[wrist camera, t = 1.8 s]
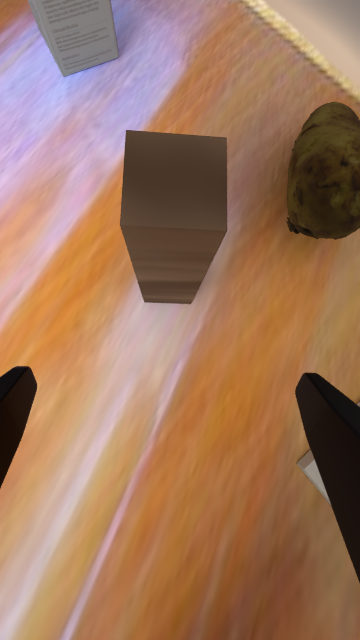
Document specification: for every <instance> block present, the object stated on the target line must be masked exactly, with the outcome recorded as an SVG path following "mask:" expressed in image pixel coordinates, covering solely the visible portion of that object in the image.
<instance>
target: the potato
mask: <svg viewBox="0 0 360 640" xmlns="http://www.w3.org/2000/svg"><path fill="white" fill-rule="evenodd" d="M287 206H288V214H289V218H287V219H288V221H287V224H288V227H289V230H290V231H291V232H292V231H293V232H294V233H296V234H298V233H299V232H300V233H302V234H304V235H306V236H311V237H314V238H316V239H318V238H326V239H327V238H332V239H339V238H343V237H346V236H348V235H350V234H351V233H353V232H355V231H356V230H357V229H359V228H360V121H359V119H358V117H357V115H356V114H355V113H354V111H353V110H352V109H350V108H349V107H348V106H346V105H344V104H342V103H338V102H330V103H327V104H324V105H322V106H320V107H319V108H317V109H316V110H315V111H314V112H313V113H311V115H310V117H309V118H308V120H307V121H306V122H305V124H304V125H303V128H302V131H301V133H300V134H299V136H298V138H297V140H296V141H295V145H294V148H293V150H292V156H291V160H290V164H289V171H288V188H287Z"/></svg>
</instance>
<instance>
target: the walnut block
mask: <svg viewBox="0 0 360 640" xmlns="http://www.w3.org/2000/svg"><path fill="white" fill-rule="evenodd" d="M120 226H121V230H122V233H123V236H124V239H125V242H126V245H127V249H128V252H129V255H130V258H131V261H132V265H133V268H134V271H135V274H136V277H137V280H138V284H139V287H140V290H141V293H142V296H143V299H144V302H151V303H178V304H191V303H192V301H193V299H194V297H195V295H196V293H197V291H198V289H199V287H200V285H201V283H202V281H203V279H204V277H205V275H206V272H207V270H208V268H209V266H210V264H211V262H212V260H213V258H214V256H215V254H216V252H217V250H218V248H219V246H220V244H221V242H222V240H223V238H224V236H225V234H226V232H227V138H224V137H211V136H198V135H185V134H172V133H159V132H145V131H132V130H126V139H125V155H124V171H123V187H122V202H121V218H120Z"/></svg>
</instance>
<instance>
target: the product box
mask: <svg viewBox="0 0 360 640" xmlns="http://www.w3.org/2000/svg"><path fill="white" fill-rule="evenodd" d="M28 2H29V5H30V7H31V10H32V12H33V15H34V18H35V20H36V23H37V26H38V28H39V30H40V32H41V34H42V36H43V38H44V40H45V42H46V44H47V46H48V48H49V50H50V52H51V54H52V56H53V58H54V60H55V62H56V63H57V65H58V67H59V69H60V71H61V73H62V75H63V77H65V76H68V75H71V74H73V73H76V72H79V71H82V70H84V69H87V68H90V67H93V66H96V65H99V64H101V63H104V62H107V61H110V60H113V59H116V58H118V57H119V53H118V46H117V39H116V33H115V27H114V20H113V13H112V7H111V1H110V0H28Z"/></svg>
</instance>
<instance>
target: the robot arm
mask: <svg viewBox="0 0 360 640" xmlns="http://www.w3.org/2000/svg"><path fill="white" fill-rule="evenodd" d="M36 391H37V382H36V380H35V377H34V375H33V372H32V370H31V368H30V367H28V366H16V367H14V368H12V369H11V370H9V371H8V372H7V373H5V374H4V375H2V376H1V377H0V488H1V486H2V483H3V481H4V479H5V476H6V474H7V472H8V469H9V467H10V464H11V462H12V460H13V457H14V455H15V453H16V450H17V448H18V446H19V443H20V441H21V438H22V436H23V433H24V430H25V427H26V424H27V420H28V417H29V414H30V410H31V407H32V404H33V401H34V397H35V394H36ZM295 394H296V399H297V402H298V406H299V410H300V414H301V418H302V422H303V426H304V430H305V434H306V437H307V440H308V443H309V446H310V449H311V452H312V454H313V457H314V460H315V462H316V465H317V468H318V471H319V473H320V476H321V479H322V481H323V484H324V487H325V490H326V492H327V495H328V498H329V501H330V503H331V506H332V509H333V511H334V514H335V517H336V520H337V522H338V525H339V528H340V531H341V533H342V536H343V539H344V541H345V544H346V547H347V550H348V552H349V555H350V558H351V561H352V563H353V566H354V569H355V571H356V574H357V577H358V580H359V582H360V407H359V406H358V405H357V404H355V403H354V402H353V401H352V400H350V399H349V398H348V397H347V396H345V395H344V394H343V393H342V392H340V391H339V390H338V389H336V388H335V387H334V386H333V385H331V384H330V383H329V382H328V381H326V380H325V379H324V378H323V377H321V376H320V375H319V374H317V373H304V374H303V375H302V376H301V378H300V381H299V383H298V385H297V387H296V390H295Z"/></svg>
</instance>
